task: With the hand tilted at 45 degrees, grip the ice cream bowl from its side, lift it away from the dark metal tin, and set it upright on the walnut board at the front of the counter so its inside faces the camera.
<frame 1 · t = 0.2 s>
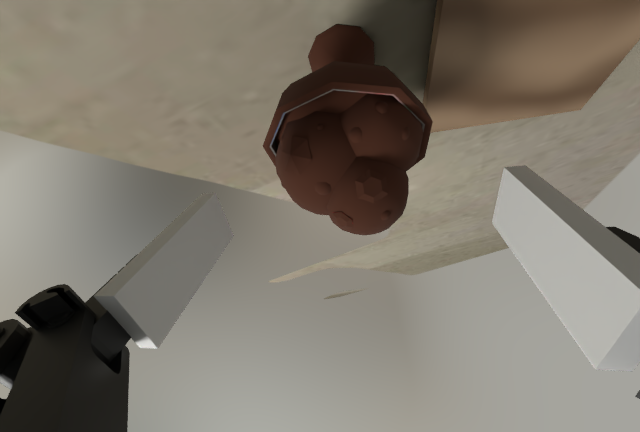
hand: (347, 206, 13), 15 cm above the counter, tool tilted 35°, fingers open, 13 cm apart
ice cream bowl: (341, 57, 22), on the counter
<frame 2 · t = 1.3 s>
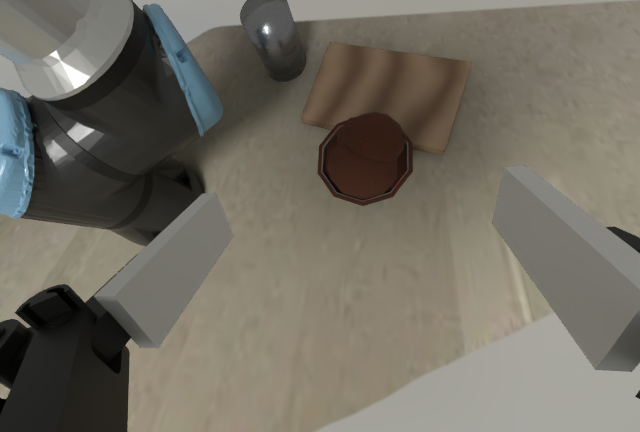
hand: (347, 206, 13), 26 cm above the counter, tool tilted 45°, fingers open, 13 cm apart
ice cream bowl: (366, 183, 40), on the counter
metal tin: (286, 63, 46), on the counter
walnut board: (382, 97, 41), on the counter
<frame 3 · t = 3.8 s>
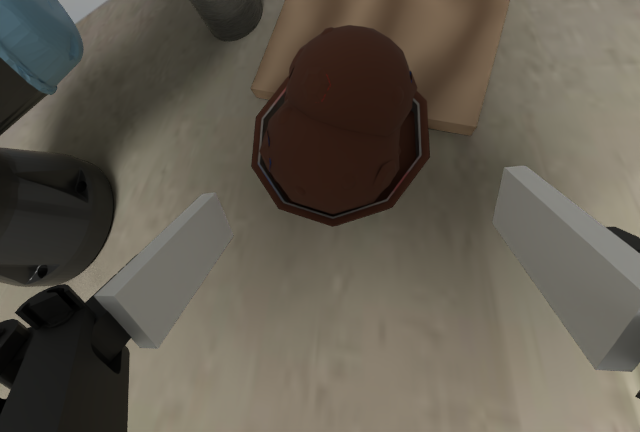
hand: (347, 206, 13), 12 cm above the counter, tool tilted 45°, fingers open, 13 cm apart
ice cream bowl: (350, 185, 25), on the counter
metal tin: (235, 16, 32), on the counter
walnut board: (372, 54, 27), on the counter
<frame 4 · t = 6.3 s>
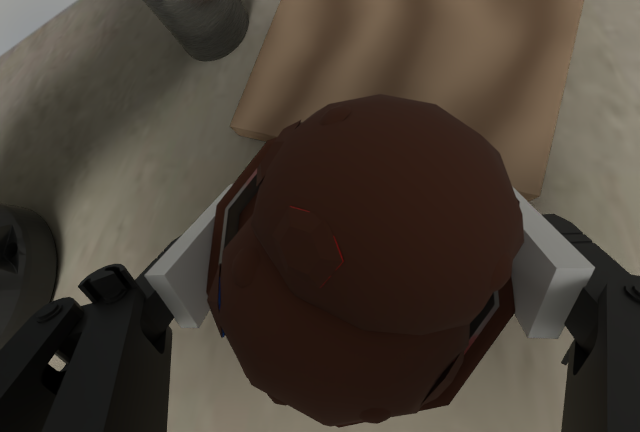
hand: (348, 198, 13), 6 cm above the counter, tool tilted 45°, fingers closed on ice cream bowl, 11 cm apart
ice cream bowl: (359, 261, 19), on the counter, touching gripper
metal tin: (215, 30, 26), on the counter
walnut board: (388, 83, 21), on the counter
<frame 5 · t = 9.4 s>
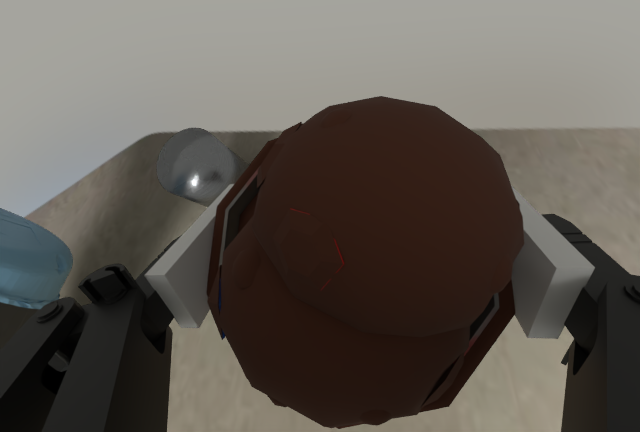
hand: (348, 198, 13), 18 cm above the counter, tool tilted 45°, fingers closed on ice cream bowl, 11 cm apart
ice cream bowl: (359, 262, 19), point 12 cm above the counter, touching gripper
metal tin: (238, 190, 35), on the counter
when the fingers open (9 cm above the counter, at t = 12.7 s): ice cream bowl drops 1 cm, resting on walnut board.
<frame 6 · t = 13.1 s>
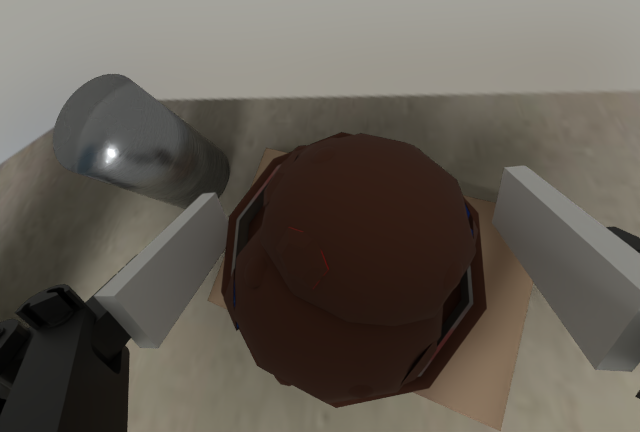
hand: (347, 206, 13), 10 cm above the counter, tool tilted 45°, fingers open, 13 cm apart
ice cream bowl: (360, 263, 20), point 1 cm above the counter, touching walnut board
metal tin: (197, 176, 27), on the counter
walnut board: (361, 263, 21), on the counter
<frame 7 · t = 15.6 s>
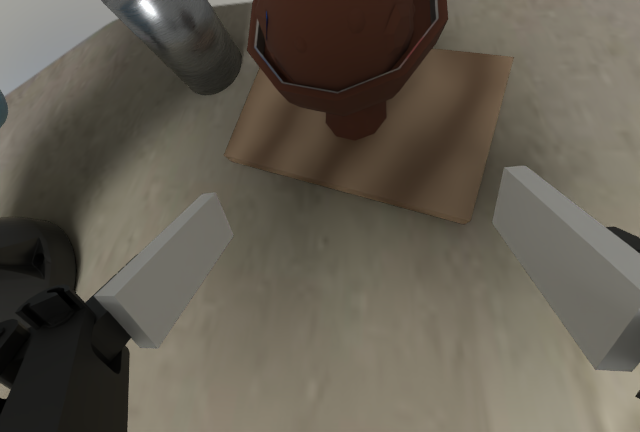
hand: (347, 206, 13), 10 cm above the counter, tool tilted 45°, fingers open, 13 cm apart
ice cream bowl: (355, 112, 23), point 1 cm above the counter, touching walnut board
metal tin: (213, 67, 30), on the counter
walnut board: (357, 119, 25), on the counter
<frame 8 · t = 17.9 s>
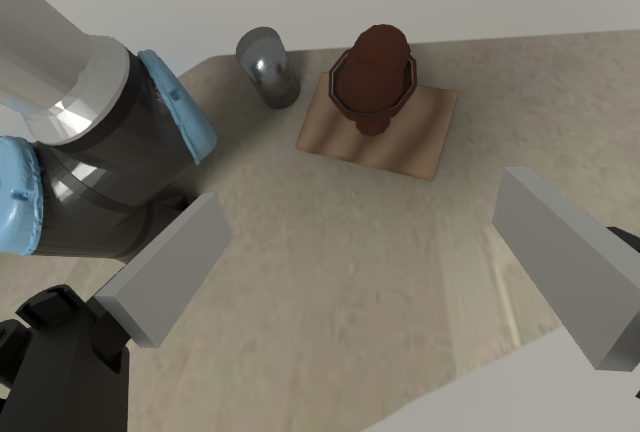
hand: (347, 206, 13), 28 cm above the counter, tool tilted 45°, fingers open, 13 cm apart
ice cream bowl: (372, 121, 42), point 1 cm above the counter, touching walnut board
metal tin: (281, 91, 48), on the counter
walnut board: (373, 124, 43), on the counter
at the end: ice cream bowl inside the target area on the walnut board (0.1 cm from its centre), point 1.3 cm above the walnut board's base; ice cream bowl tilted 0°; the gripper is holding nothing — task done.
